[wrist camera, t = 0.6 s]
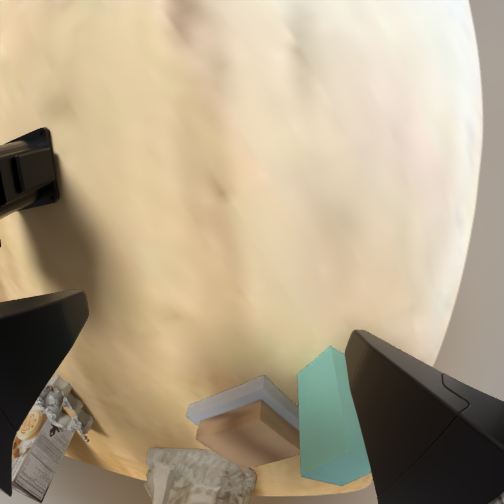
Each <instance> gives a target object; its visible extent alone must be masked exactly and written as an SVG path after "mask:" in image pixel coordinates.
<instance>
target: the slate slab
mask: <svg viewBox="0 0 504 504" xmlns="http://www.w3.org/2000/svg"><path fill="white" fill-rule="evenodd" d="M260 399H262V400H263V401H264V402H265V403H266V404H267V405H269V406H270V407H271V408H272V409H273V410H274V411H276V412H277V413H278V414H279V415H280V416H282V417H283V418H284V419H285V420H286V421H288V422H289V423H290V424H291V425H293V426H294V427H295V428H296V429H298V430H299V431H300V429H299V407H298V406H296V405H295V404H294V403H293V402H292V401H291V400H290V399H289V398H288V397H287V396H286V395H285V394H284V393H282V392H281V391H280V390H279V389H278V388H277V387H276V386H275V385H274V384H273V383H272V382H271V381H270V380H269V379H268V378H267V377H266V376H265V375H262V376H260V377H258V378H255V379H253V380H251V381H248V382H246V383H244V384H241V385H239V386H236V387H234V388H231V389H229V390H226V391H224V392H221V393H219V394H216V395H214V396H211V397H209V398H206V399H203V400H201V401H198V402H195V403H192V404H190V405H189V407H188V411H187V414H186V417H187V418H188V419H189V420H191V421H192V422H193V423H195V424H196V425H198V426H199V422H200V421H201V420H204V419H207V418H210V417H213V416H216V415H219V414H222V413H225V412H228V411H231V410H233V409H236V408H239V407H242V406H244V405H247V404H250V403H252V402H255V401H257V400H260Z"/></svg>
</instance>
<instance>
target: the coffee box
mask: <svg viewBox="0 0 504 504" xmlns="http://www.w3.org/2000/svg"><path fill="white" fill-rule="evenodd" d="M74 434H75V432H74V433H73V432H72V431H71V430H65V429H64V428H59V427H57V426H55V425H53V424H52V423H51V422H50V421H49V419H48V417H47V415H46V414H45V412H44V411H42V409H41V407H40V406H39V405H33V407H32V409H31V410H30V412H29V414H28V415H27V417H26V419H25V420H24V422H23V424H22V425H21V427H20V429H19V431H18V432H17V434H16V436H15V439H14V442H13V448H12V488H13V489H15V490H17V491H18V492H20V493H22V494H24V495H26V496H28V497H29V498H32V499H33V500H36V501H37V502H40V503H42V501H43V499H44V496H45V494H46V492H47V490H48V488H49V485H50V483H51V481H52V479H53V477H54V474H55V472H56V470H57V468H58V466H59V464H60V462H61V460H62V458H63V456H64V454H65V451H66V449H67V447H68V445H69V444H70V442H71V439H72V438H73V436H74Z"/></svg>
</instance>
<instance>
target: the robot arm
mask: <svg viewBox="0 0 504 504" xmlns="http://www.w3.org/2000/svg"><path fill="white" fill-rule="evenodd" d="M43 132H44V135H43ZM53 195H54V197H55V198H54V197H53ZM58 200H59V191H58V186H57V181H56V176H55V171H54V165H53V159H52V153H51V146H50V138H49V131H48V129H47V128H46V127H44V128H40V129H37V130H35V131H32V132H30V133H28V134H25V135H23V136H21V137H19V138H16V139H14V140H12V141H10V142H8V143H6V144H4V145H0V219H2V218H4V217H6V216H7V215H9V214H11V213H13V212H15V211H19V210H24V209H28V208H32V207H37V206H41V205H46V204H51V203H55V202H57V201H58ZM0 247H1V240H0ZM88 316H89V309H88V304H87V299H86V294H85V292H84V291H80V290H76V289H73V290H68V291H62V292H57V293H51V294H45V295H40V296H34V297H28V298H23V299H17V300H11V301H6V302H0V490H1V491H2V492H4V493H5V494H7V495H8V496H10V497H11V495H12V448H13V442H14V439H15V436H16V434H17V432H18V431H19V429H20V427H21V425H22V424H23V422H24V420H25V419H26V417H27V415H28V414H29V412H30V410H31V409H32V407H33V405H34V404H35V402H36V401H37V399H38V397H39V396H40V394H41V393H42V391H43V390H44V388H45V386H46V385H47V383H48V382H49V380H50V379H51V377H52V376H53V374H54V373H55V371H56V370H57V368H58V367H59V365H60V364H61V362H62V361H63V359H64V358H65V356H66V355H67V354H68V352H69V351H70V349H71V348H72V346H73V344H74V343H75V341H76V339H77V337H78V335H79V333H80V332H81V330H82V328H83V326H84V324H85V323H86V321H87V319H88ZM345 360H346V367H347V373H348V380H349V387H350V392H351V395H352V399H353V403H354V406H355V410H356V414H357V417H358V421H359V425H360V428H361V432H362V436H363V440H364V444H365V448H366V452H367V456H368V460H369V464H370V468H371V472H372V477H373V481H374V485H375V490H376V494H377V496H378V497H377V499H378V504H504V402H503V401H501V400H499V399H497V398H494V397H492V396H490V395H488V394H485V393H483V392H481V391H479V390H477V389H474V388H472V387H470V386H468V385H466V384H464V383H462V382H460V381H458V380H456V379H454V378H452V377H450V376H448V375H447V374H445V373H442V372H440V371H438V370H436V369H435V368H433V367H431V366H429V365H427V364H425V363H424V362H422V361H420V360H418V359H416V358H414V357H413V356H411V355H409V354H407V353H405V352H403V351H402V350H400V349H398V348H396V347H394V346H392V345H391V344H389V343H387V342H385V341H383V340H382V339H380V338H378V337H376V336H374V335H372V334H371V333H369V332H367V331H365V330H354V331H353V332H352V334H351V336H350V339H349V341H348V344H347V347H346V350H345Z"/></svg>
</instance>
